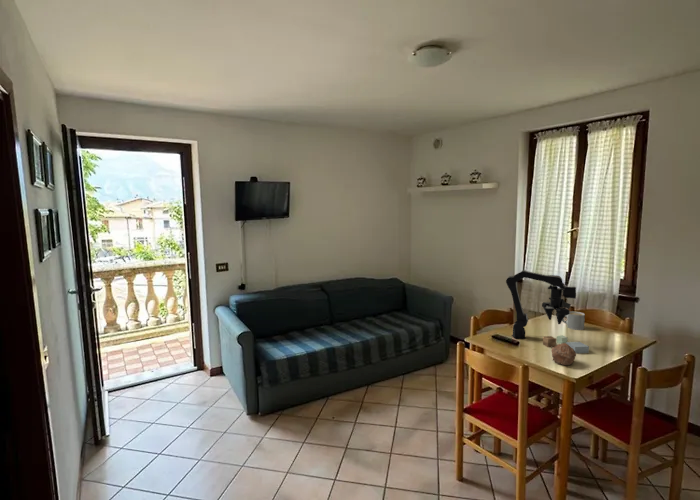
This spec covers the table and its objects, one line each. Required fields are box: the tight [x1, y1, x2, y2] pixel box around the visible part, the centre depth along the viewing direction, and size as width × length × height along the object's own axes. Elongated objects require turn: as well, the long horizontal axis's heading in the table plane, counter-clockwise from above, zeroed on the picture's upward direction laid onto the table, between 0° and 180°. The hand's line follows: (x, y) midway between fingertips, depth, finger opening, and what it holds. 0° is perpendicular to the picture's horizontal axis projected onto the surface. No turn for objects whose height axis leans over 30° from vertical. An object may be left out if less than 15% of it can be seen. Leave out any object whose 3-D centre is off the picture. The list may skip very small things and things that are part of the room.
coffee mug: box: [561, 311, 586, 331], centre depth 260 cm, size 13×10×10 cm
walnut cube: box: [542, 335, 557, 348], centre depth 226 cm, size 5×5×5 cm
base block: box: [566, 341, 590, 354], centre depth 217 cm, size 8×8×4 cm
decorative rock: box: [550, 343, 577, 366], centre depth 200 cm, size 13×11×10 cm
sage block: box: [556, 334, 569, 344], centre depth 230 cm, size 4×4×4 cm
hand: (554, 321), depth 231 cm, fingers open, 9 cm apart
